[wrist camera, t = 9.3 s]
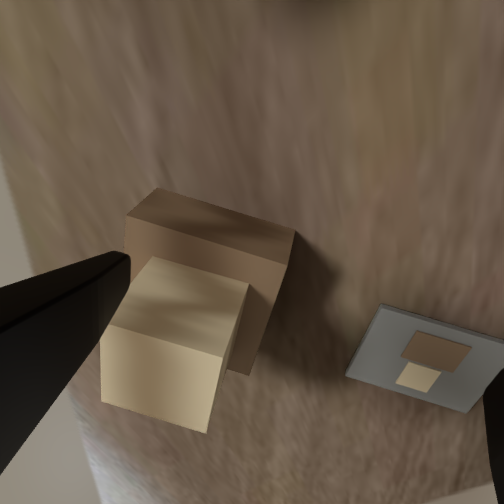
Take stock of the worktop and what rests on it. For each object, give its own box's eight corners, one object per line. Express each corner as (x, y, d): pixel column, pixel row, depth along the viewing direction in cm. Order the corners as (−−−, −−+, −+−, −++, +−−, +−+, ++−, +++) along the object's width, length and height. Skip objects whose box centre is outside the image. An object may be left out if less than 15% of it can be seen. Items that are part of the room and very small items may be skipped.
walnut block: (296, 227, 21) (287, 265, 18) (261, 329, 26) (249, 375, 22) (159, 185, 22) (125, 215, 18) (147, 293, 26) (118, 333, 22)
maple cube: (249, 283, 19) (223, 357, 15) (231, 353, 21) (205, 433, 17) (152, 256, 19) (99, 321, 15) (147, 328, 22) (101, 401, 18)
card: (518, 344, 22) (521, 350, 21) (464, 408, 25) (466, 414, 25) (381, 303, 22) (381, 308, 22) (345, 371, 25) (345, 377, 25)
